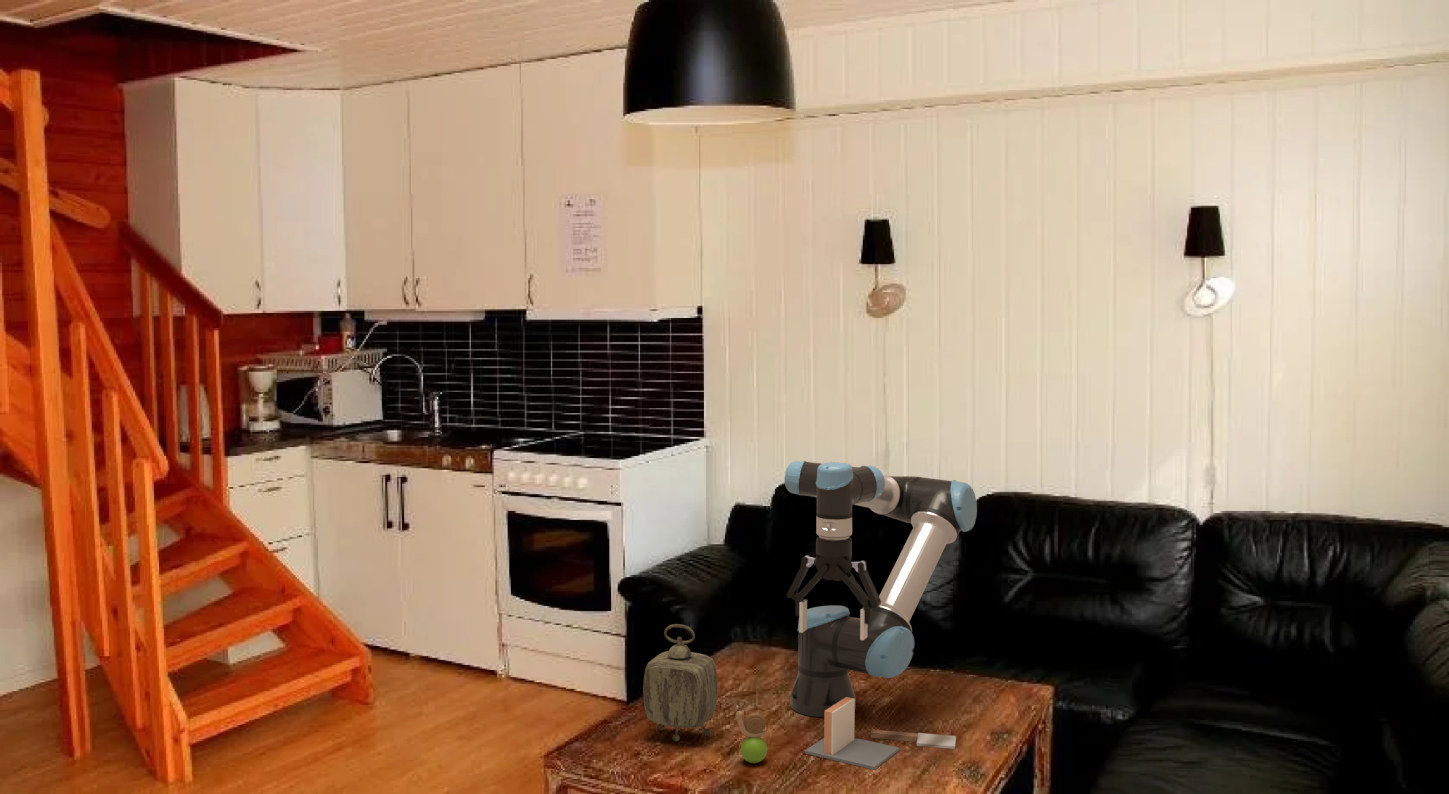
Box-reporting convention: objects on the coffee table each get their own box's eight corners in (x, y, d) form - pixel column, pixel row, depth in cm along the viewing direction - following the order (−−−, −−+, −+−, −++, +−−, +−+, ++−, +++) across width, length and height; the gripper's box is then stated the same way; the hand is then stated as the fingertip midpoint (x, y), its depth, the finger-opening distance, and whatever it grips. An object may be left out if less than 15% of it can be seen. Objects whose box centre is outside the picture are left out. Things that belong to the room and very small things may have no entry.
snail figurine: (734, 757, 249) (734, 701, 248) (765, 756, 250) (765, 700, 249) (737, 768, 244) (737, 710, 243) (768, 767, 244) (768, 709, 243)
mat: (804, 753, 251) (804, 750, 251) (831, 735, 261) (831, 732, 261) (874, 770, 243) (874, 767, 243) (899, 750, 253) (899, 747, 253)
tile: (824, 753, 250) (824, 711, 249) (845, 737, 258) (846, 697, 258) (832, 755, 249) (833, 712, 248) (854, 739, 257) (854, 698, 256)
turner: (869, 741, 258) (869, 736, 258) (872, 731, 264) (872, 726, 264) (955, 749, 254) (955, 743, 254) (955, 738, 260) (956, 733, 260)
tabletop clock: (717, 734, 262) (717, 622, 260) (703, 750, 253) (703, 633, 251) (656, 726, 267) (655, 616, 264) (640, 741, 258) (639, 627, 256)
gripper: (772, 534, 256) (772, 632, 258) (886, 545, 246) (884, 646, 248) (785, 528, 263) (784, 623, 265) (896, 538, 253) (894, 637, 255)
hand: (833, 634), depth 256 cm, fingers open, 13 cm apart
